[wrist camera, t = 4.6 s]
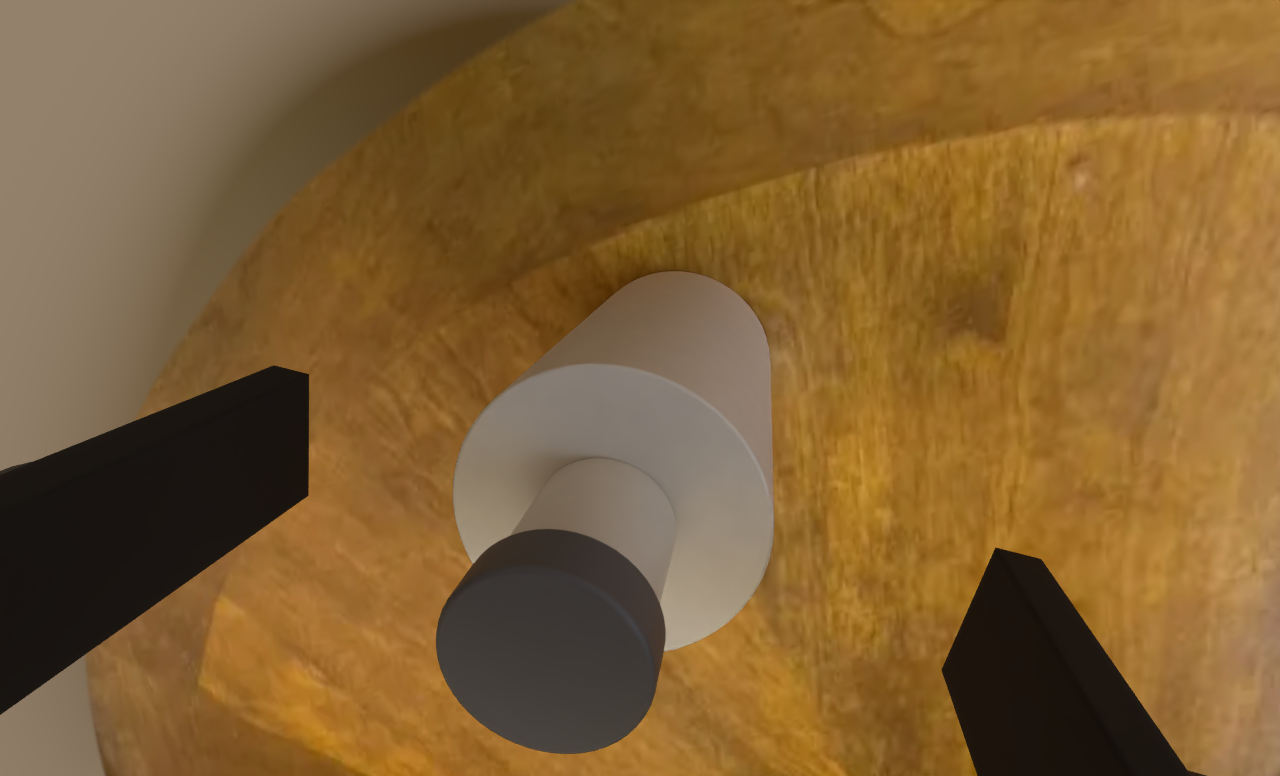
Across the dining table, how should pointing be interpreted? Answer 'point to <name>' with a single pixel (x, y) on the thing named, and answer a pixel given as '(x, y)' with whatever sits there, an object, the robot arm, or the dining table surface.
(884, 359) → the dining table surface
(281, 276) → the dining table surface
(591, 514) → the bottle
